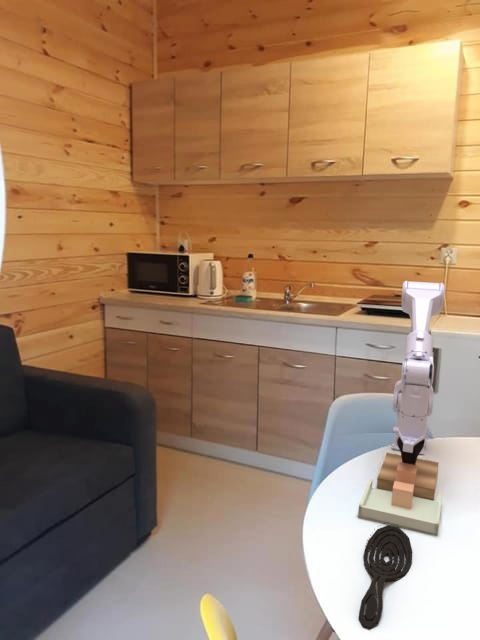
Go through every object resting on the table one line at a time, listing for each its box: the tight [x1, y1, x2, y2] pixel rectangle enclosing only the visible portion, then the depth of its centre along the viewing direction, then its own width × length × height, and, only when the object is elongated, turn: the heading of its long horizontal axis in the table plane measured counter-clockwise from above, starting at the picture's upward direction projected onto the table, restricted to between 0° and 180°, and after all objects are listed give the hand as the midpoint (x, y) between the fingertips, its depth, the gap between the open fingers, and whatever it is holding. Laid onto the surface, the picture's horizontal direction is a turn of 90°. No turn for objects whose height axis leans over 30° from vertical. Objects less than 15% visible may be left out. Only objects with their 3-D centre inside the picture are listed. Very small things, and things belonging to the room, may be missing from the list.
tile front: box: [391, 481, 414, 509], centre depth 114 cm, size 4×4×3 cm
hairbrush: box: [358, 524, 413, 630], centre depth 91 cm, size 8×4×25 cm
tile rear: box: [396, 462, 418, 486], centre depth 119 cm, size 4×4×3 cm
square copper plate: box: [376, 452, 439, 501], centre depth 124 cm, size 14×12×3 cm
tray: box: [357, 478, 443, 537], centre depth 112 cm, size 13×15×2 cm
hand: (408, 469), depth 122 cm, fingers closed
